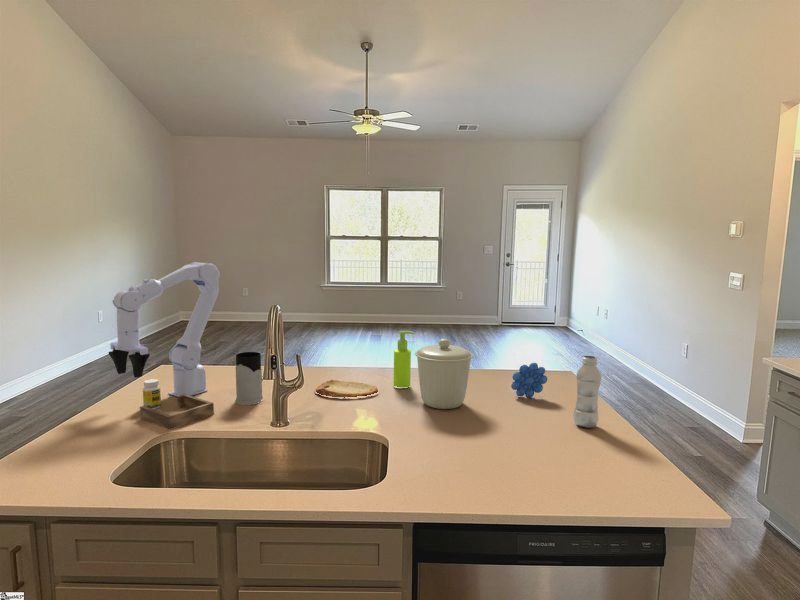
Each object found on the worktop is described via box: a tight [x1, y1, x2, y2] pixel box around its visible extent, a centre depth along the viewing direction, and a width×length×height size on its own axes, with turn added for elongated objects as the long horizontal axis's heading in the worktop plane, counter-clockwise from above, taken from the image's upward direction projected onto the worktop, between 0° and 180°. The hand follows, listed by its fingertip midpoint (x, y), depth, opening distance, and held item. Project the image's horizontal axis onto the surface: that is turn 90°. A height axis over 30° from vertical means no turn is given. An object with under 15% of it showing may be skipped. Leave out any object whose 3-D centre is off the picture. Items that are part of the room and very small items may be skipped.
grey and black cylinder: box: [235, 351, 265, 406], centre depth 159 cm, size 9×14×15 cm, turn 159°
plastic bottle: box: [573, 355, 602, 429], centre depth 138 cm, size 6×7×20 cm
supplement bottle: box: [142, 378, 162, 410], centre depth 149 cm, size 5×5×8 cm
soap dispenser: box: [393, 330, 415, 387], centre depth 173 cm, size 6×7×20 cm
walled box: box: [139, 394, 215, 430], centre depth 142 cm, size 14×14×4 cm
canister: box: [414, 338, 474, 410], centre depth 155 cm, size 18×18×21 cm
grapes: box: [510, 362, 548, 399], centre depth 164 cm, size 12×7×12 cm, turn 85°
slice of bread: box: [315, 379, 379, 398], centre depth 166 cm, size 18×18×4 cm
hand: (129, 375), depth 149 cm, fingers open, 7 cm apart
